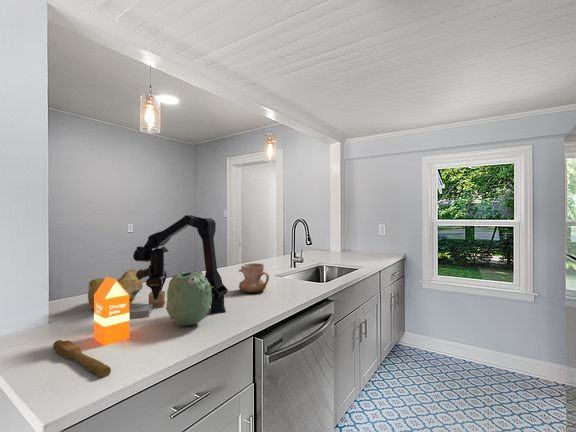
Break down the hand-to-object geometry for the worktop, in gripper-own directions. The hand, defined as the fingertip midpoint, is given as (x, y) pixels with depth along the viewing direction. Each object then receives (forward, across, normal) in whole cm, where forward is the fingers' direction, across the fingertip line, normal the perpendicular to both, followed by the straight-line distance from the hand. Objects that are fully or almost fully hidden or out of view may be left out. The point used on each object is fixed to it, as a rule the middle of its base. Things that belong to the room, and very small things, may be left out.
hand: (157, 296), depth 137 cm
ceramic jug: (+4, -15, +46) cm, 49 cm away
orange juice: (+4, +35, -9) cm, 36 cm away
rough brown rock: (+4, -8, -20) cm, 22 cm away
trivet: (+4, +10, -6) cm, 12 cm away
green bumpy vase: (+4, +28, +15) cm, 32 cm away
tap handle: (+5, +50, -13) cm, 52 cm away
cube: (+4, 0, 0) cm, 4 cm away
